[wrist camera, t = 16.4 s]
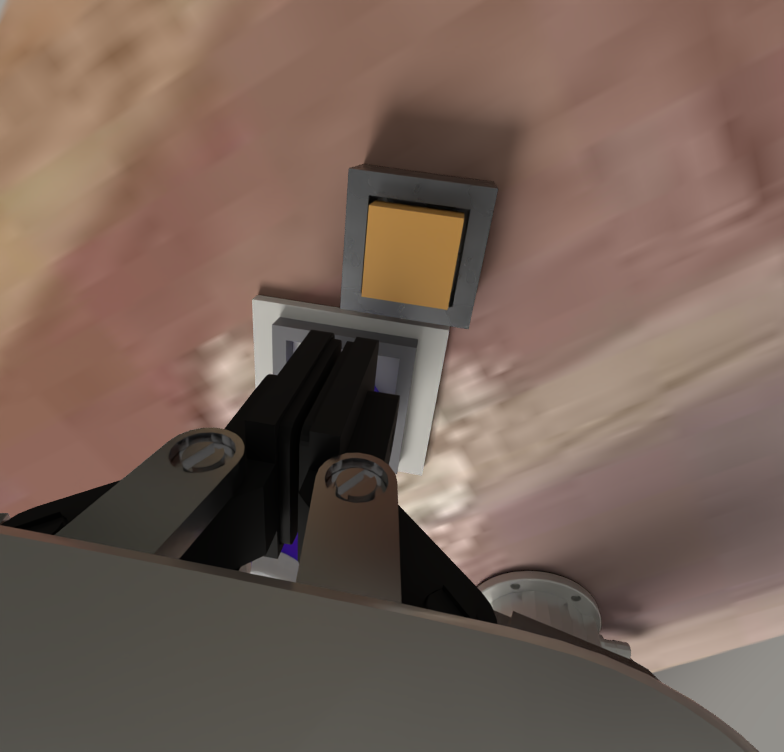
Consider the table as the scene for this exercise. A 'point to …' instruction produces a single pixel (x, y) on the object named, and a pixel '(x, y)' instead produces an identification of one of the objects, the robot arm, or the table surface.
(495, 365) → the table surface
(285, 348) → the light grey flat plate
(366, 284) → the button
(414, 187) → the button housing
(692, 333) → the table surface
